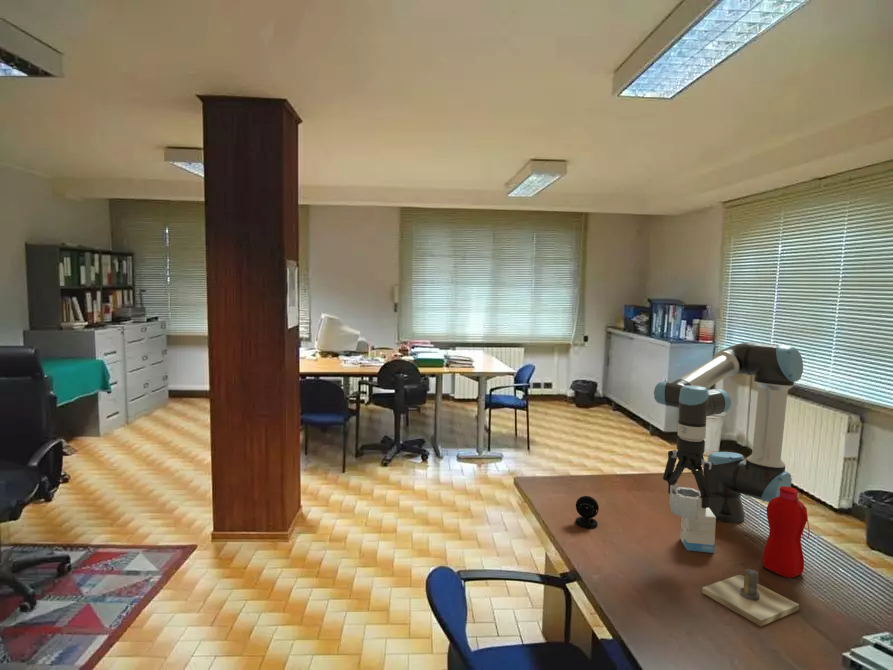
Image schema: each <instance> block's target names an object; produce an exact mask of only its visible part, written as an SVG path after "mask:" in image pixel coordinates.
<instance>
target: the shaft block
mask: <svg viewBox="0 0 893 670" xmlns="http://www.w3.org/2000/svg"><path fill="white" fill-rule="evenodd" d="M758 581H759V572H758V571H756V570H754V569H751V568H746V569H744V575H742V574H738V575H737V574H736V575H734V576H731V577H729V578H726V579H723V580H720V581H716V582H714V583H711V584H708V585H706V586H703V587H702V592H701V593H702V594H704V595H706V596H708V597H709V598H710V599H713V600H714V601H716V602H718V603H720V605H723V606H725V607H726V608H728V609H730V610H731V611H733V612H735V613H737V614H738V615H740V616H742V617H744V618H746V619H747V620H749V621H751V622H752V623H755V624H756V625H757V626H759V627H763V626H765V625H767V624H770V623H772V622H774V621H776V620H779V619H782V618H783V617H784V618H785V617H786V616H788V615H790V614H793V613H795V612H798V611H799V610H800V609H799V608H800V604H799V603H797V602H795V601H793V600H791V599H789V598H787V597H785V596H783V595H781V594H779V593H777V592H775V591H773V590H772V589H769V588H768V587H765V586H764V585H761V584H759V583H758Z"/></svg>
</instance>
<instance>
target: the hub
mask: <svg viewBox="0 0 893 670" xmlns="http://www.w3.org/2000/svg"><path fill="white" fill-rule="evenodd" d="M698 496H701V494H700V491H699V489H696V488H691V487H684V486H678V487H677V488H673V489H671V504H670V507H669V508H670V512H671V514H674V515H676V516H678V517H680V518H681V519H682V518H690V519H698V518H697V512H698Z"/></svg>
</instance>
